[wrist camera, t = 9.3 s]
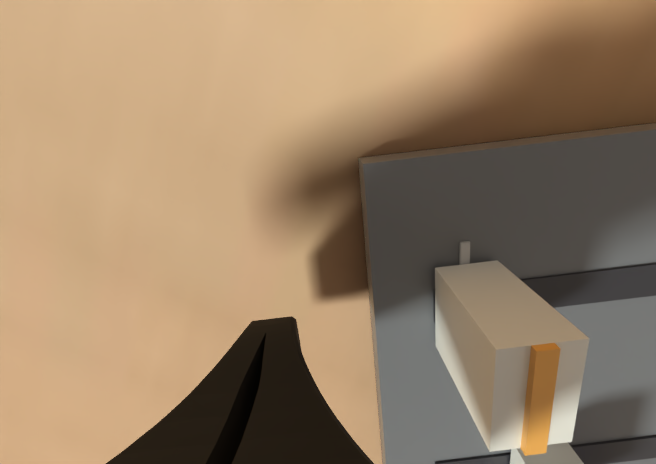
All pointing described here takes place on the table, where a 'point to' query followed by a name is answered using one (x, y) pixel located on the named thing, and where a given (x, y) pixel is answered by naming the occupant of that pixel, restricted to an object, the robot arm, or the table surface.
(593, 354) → the console
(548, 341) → the fader
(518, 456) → the fader
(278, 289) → the table surface
